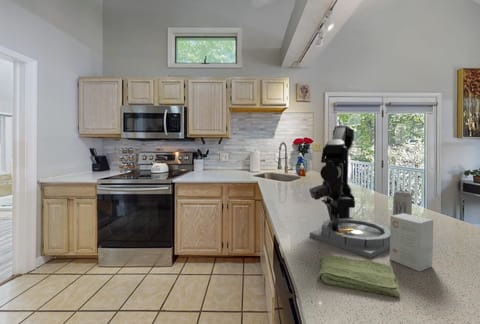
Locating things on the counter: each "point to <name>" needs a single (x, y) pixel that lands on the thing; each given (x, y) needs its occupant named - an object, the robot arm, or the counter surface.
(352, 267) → the washcloth
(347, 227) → the dial
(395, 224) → the small box
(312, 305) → the counter surface
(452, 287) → the counter surface
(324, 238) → the grey round platform
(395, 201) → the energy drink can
